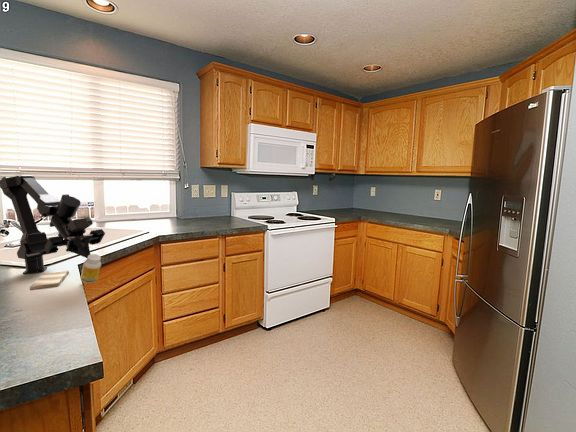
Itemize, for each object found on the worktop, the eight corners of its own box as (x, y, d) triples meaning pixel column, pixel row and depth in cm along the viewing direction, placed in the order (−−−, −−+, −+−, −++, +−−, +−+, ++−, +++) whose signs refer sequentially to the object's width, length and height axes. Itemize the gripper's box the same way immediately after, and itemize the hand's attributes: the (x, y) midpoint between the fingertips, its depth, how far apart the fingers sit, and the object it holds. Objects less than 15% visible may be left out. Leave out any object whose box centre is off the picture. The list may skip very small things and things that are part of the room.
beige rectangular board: (44, 275, 120) (43, 273, 119) (68, 272, 123) (68, 270, 123) (30, 289, 105) (29, 286, 105) (58, 285, 108) (58, 283, 108)
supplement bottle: (78, 275, 111) (83, 253, 109) (95, 274, 115) (100, 252, 113) (82, 284, 108) (87, 261, 105) (99, 282, 112) (104, 260, 109)
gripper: (44, 214, 102) (69, 247, 99) (98, 208, 119) (121, 237, 116) (34, 237, 106) (58, 270, 103) (88, 228, 123) (110, 256, 120)
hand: (89, 257), depth 110 cm, fingers closed, pressing on supplement bottle
